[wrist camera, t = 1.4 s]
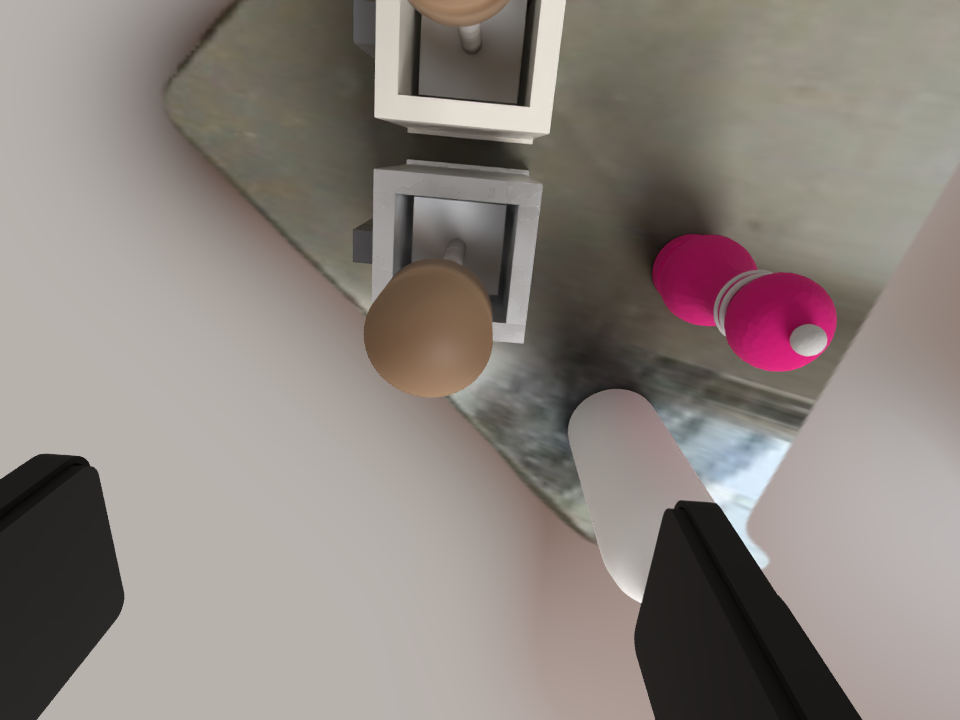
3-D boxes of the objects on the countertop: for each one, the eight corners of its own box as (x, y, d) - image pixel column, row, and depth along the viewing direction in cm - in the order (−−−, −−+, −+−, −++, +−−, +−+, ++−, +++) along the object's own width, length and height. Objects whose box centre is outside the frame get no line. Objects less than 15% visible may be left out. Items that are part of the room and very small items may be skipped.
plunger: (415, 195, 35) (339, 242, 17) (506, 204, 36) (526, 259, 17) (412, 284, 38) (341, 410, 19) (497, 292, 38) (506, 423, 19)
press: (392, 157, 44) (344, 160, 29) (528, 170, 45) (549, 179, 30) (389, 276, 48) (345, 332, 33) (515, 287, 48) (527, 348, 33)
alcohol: (634, 369, 51) (813, 634, 23) (669, 440, 54) (868, 755, 26) (551, 409, 53) (624, 703, 25) (589, 476, 55) (694, 809, 27)
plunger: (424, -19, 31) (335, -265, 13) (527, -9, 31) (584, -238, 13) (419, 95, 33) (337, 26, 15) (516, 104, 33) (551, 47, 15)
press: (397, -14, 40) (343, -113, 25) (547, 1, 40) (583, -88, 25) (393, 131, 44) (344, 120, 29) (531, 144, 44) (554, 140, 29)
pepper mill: (630, 284, 48) (721, 368, 29) (679, 212, 46) (812, 253, 27) (694, 322, 49) (822, 426, 30) (745, 253, 47) (917, 321, 28)
